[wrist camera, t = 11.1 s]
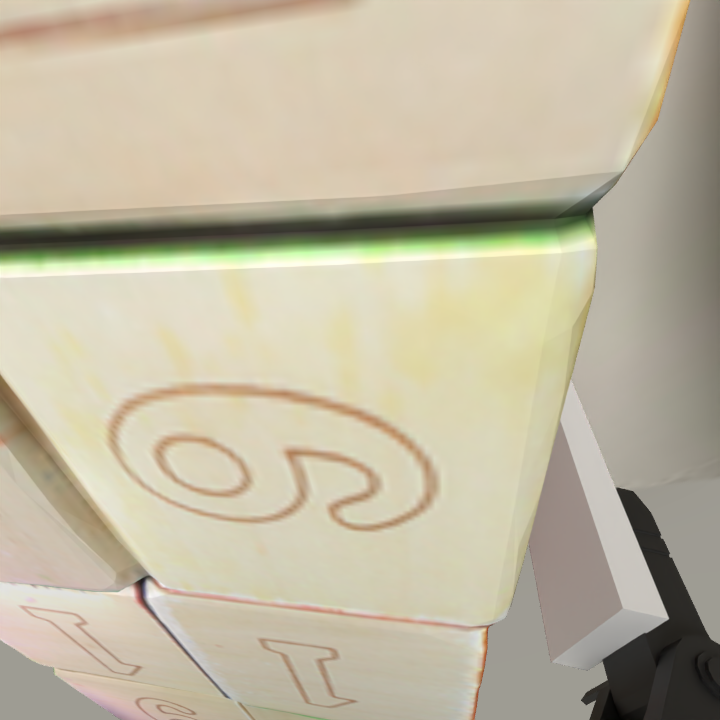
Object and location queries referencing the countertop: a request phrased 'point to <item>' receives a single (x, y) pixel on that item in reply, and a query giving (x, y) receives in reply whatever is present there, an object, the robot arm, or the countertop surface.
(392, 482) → the stack of blocks
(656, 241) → the countertop surface
